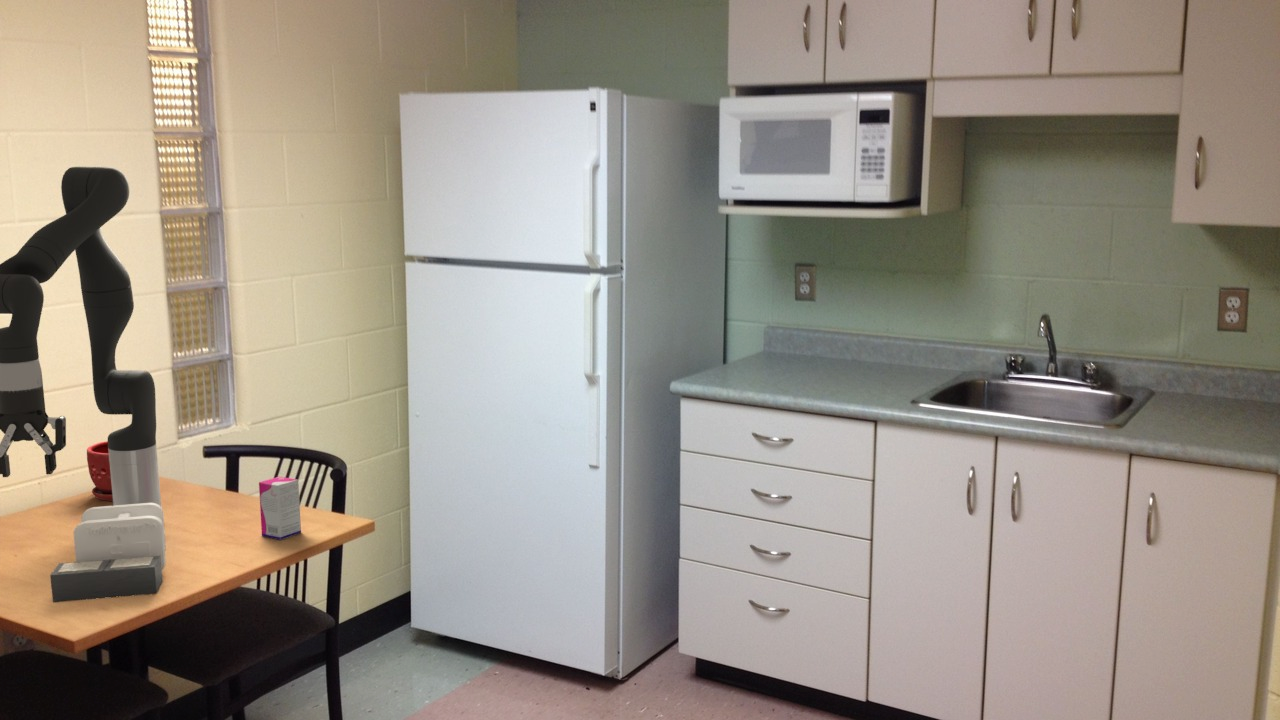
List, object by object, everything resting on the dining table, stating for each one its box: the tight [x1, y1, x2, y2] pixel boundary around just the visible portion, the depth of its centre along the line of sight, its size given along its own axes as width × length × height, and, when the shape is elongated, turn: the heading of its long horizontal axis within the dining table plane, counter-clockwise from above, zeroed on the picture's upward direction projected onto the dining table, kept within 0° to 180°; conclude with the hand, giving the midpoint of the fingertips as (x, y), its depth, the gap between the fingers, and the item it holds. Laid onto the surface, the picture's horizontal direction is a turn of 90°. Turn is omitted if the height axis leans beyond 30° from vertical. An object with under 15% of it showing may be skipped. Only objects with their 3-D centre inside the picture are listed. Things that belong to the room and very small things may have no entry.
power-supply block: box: [49, 556, 164, 603], centre depth 203 cm, size 6×17×5 cm, turn 103°
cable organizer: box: [73, 503, 167, 570], centre depth 213 cm, size 15×11×12 cm
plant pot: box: [86, 440, 113, 502], centre depth 262 cm, size 13×13×12 cm
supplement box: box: [258, 476, 302, 541], centre depth 234 cm, size 6×6×12 cm
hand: (28, 474), depth 207 cm, fingers open, 6 cm apart
